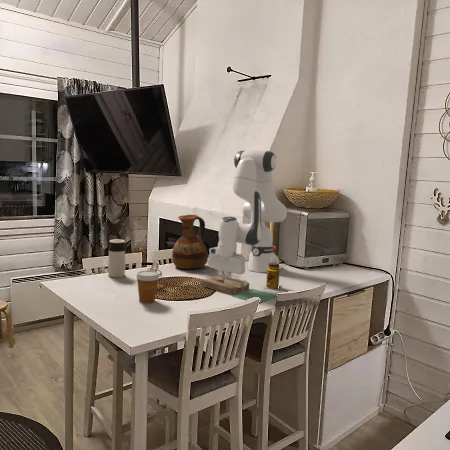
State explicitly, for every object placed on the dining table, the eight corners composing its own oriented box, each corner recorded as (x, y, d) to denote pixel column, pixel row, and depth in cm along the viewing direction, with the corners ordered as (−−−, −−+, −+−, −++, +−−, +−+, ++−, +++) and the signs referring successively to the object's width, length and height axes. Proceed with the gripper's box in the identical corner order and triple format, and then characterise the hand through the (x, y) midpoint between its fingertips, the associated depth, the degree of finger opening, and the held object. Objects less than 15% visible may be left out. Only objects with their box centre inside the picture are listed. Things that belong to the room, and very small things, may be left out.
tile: (231, 281, 202) (232, 277, 202) (247, 285, 197) (247, 281, 197) (224, 283, 198) (224, 279, 197) (239, 287, 192) (239, 283, 192)
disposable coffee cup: (138, 305, 170) (138, 276, 168) (133, 298, 179) (134, 270, 177) (161, 303, 174) (162, 275, 172) (155, 296, 182) (156, 269, 181)
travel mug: (119, 278, 207) (119, 242, 205) (105, 276, 210) (105, 241, 207) (127, 275, 215) (128, 240, 212) (114, 273, 217) (114, 238, 215)
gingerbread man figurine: (159, 286, 198) (160, 261, 197) (164, 288, 196) (165, 262, 194) (143, 289, 192) (144, 263, 190) (149, 291, 189) (149, 265, 188)
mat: (252, 289, 201) (252, 288, 201) (277, 296, 193) (278, 295, 193) (232, 296, 189) (232, 295, 189) (258, 303, 180) (258, 303, 180)
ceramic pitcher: (165, 265, 239) (166, 213, 235) (192, 261, 252) (195, 211, 248) (186, 273, 225) (188, 217, 220) (214, 268, 238) (217, 216, 234)
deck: (219, 281, 212) (220, 275, 212) (248, 289, 201) (249, 283, 201) (201, 286, 201) (201, 280, 201) (231, 295, 190) (231, 288, 190)
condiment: (263, 288, 204) (265, 264, 203) (268, 284, 212) (269, 260, 211) (278, 290, 202) (279, 266, 200) (282, 286, 210) (284, 262, 208)
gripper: (248, 254, 195) (247, 283, 197) (215, 247, 207) (213, 274, 209) (240, 255, 190) (238, 285, 192) (206, 248, 203) (205, 276, 204)
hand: (225, 279), depth 201 cm, fingers closed
